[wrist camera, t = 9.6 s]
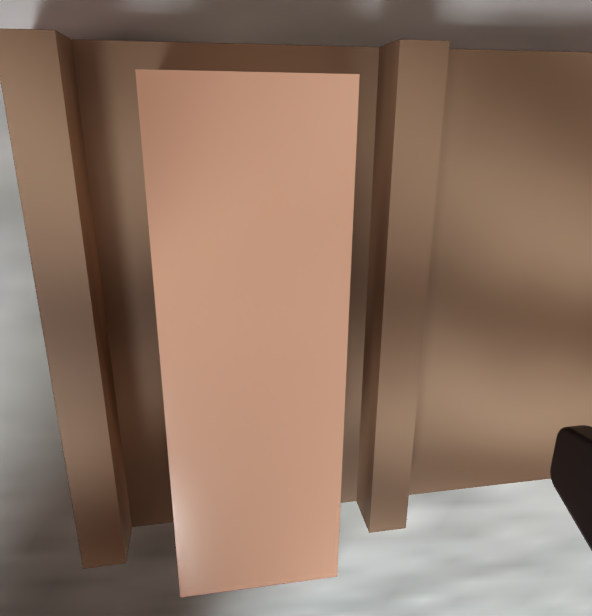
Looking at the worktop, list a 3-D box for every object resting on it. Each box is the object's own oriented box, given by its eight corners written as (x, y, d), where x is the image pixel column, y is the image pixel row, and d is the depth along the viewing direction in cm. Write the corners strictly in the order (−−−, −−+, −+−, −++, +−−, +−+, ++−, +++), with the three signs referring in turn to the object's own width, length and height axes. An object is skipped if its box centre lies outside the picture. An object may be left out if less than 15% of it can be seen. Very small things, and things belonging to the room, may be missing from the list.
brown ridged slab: (593, 455, 21) (643, 498, 18) (97, 509, 18) (83, 568, 16) (683, 59, 16) (765, 49, 14) (28, 43, 13) (-9, 28, 11)
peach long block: (308, 479, 18) (337, 576, 14) (184, 492, 17) (180, 597, 13) (315, 84, 14) (359, 74, 10) (153, 81, 13) (135, 69, 9)
